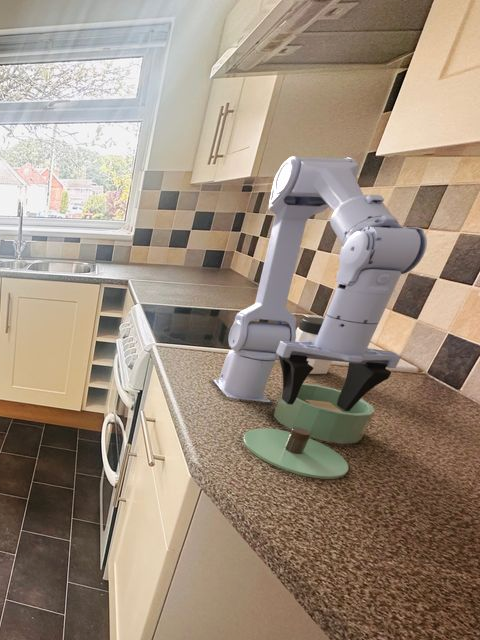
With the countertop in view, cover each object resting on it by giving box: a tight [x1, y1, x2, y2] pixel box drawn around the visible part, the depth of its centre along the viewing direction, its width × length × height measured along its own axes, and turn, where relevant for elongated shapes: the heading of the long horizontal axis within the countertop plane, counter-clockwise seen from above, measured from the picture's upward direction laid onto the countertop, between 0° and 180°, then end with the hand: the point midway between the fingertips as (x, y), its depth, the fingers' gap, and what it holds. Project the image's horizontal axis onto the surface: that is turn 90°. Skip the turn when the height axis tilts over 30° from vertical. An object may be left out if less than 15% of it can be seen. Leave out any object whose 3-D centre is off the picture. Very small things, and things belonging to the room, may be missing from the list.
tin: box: [273, 382, 376, 445], centre depth 74 cm, size 13×13×6 cm
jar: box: [295, 316, 333, 375], centre depth 101 cm, size 9×8×12 cm
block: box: [305, 400, 342, 412], centre depth 75 cm, size 4×4×4 cm
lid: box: [242, 427, 350, 480], centre depth 66 cm, size 14×14×5 cm
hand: (314, 404), depth 64 cm, fingers open, 7 cm apart
